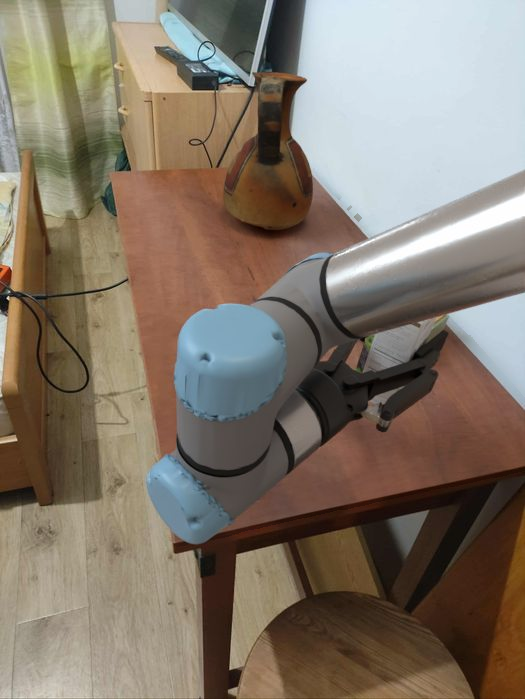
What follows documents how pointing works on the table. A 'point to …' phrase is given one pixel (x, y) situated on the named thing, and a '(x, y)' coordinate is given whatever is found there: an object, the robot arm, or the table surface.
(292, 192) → the ceramic pitcher
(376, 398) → the syrup box
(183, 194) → the table surface
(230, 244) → the table surface
